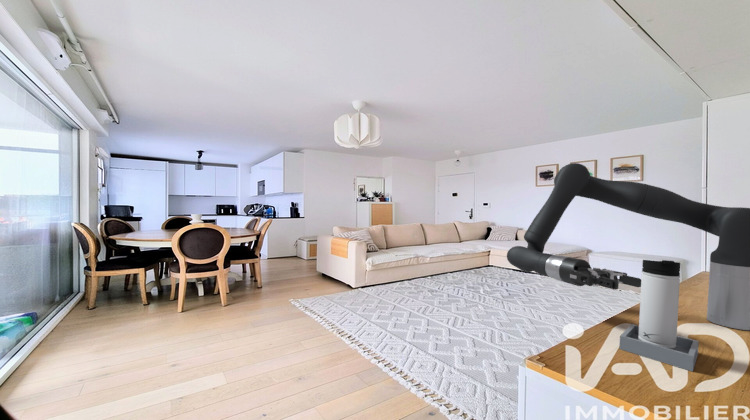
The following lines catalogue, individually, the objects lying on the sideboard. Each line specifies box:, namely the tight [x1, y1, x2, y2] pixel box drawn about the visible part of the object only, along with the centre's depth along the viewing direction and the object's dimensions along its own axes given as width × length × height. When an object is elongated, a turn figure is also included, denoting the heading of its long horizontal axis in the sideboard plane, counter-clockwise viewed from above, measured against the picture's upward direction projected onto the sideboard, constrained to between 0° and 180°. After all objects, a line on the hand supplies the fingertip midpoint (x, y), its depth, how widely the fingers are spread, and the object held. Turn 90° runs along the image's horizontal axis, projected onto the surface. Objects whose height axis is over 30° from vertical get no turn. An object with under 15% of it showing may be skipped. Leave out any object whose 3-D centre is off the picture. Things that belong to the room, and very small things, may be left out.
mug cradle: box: [619, 323, 699, 373], centre depth 69 cm, size 12×12×3 cm
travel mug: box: [638, 259, 681, 350], centre depth 69 cm, size 6×7×20 cm
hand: (629, 284), depth 74 cm, fingers open, 8 cm apart
